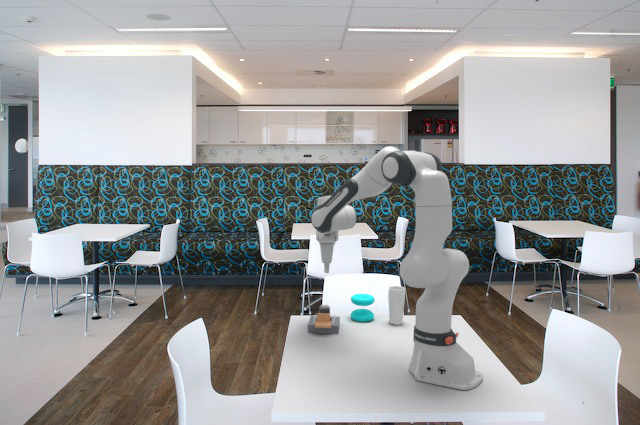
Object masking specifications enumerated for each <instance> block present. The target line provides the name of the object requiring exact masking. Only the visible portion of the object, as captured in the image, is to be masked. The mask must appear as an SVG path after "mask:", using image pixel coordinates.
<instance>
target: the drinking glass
mask: <svg viewBox="0 0 640 425" xmlns="http://www.w3.org/2000/svg"><path fill="white" fill-rule="evenodd" d="M387 296H388V312H389V315H388V316H389V324H391V325H393V324H394V326H400V325H402V324H403V319H404V318H403V317H404V310H405V299H406V288H405V287H404V286H402V285H401V286H400V285H392V286H389V287H388V294H387Z"/></svg>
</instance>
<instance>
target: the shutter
mask: <svg viewBox="0 0 640 425" xmlns="http://www.w3.org/2000/svg"><path fill="white" fill-rule="evenodd" d="M316 314H317V321H316V322H315V328H331V324H332V321H330V316H331V313H330V314H327V313H319V312H318V313H316Z"/></svg>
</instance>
